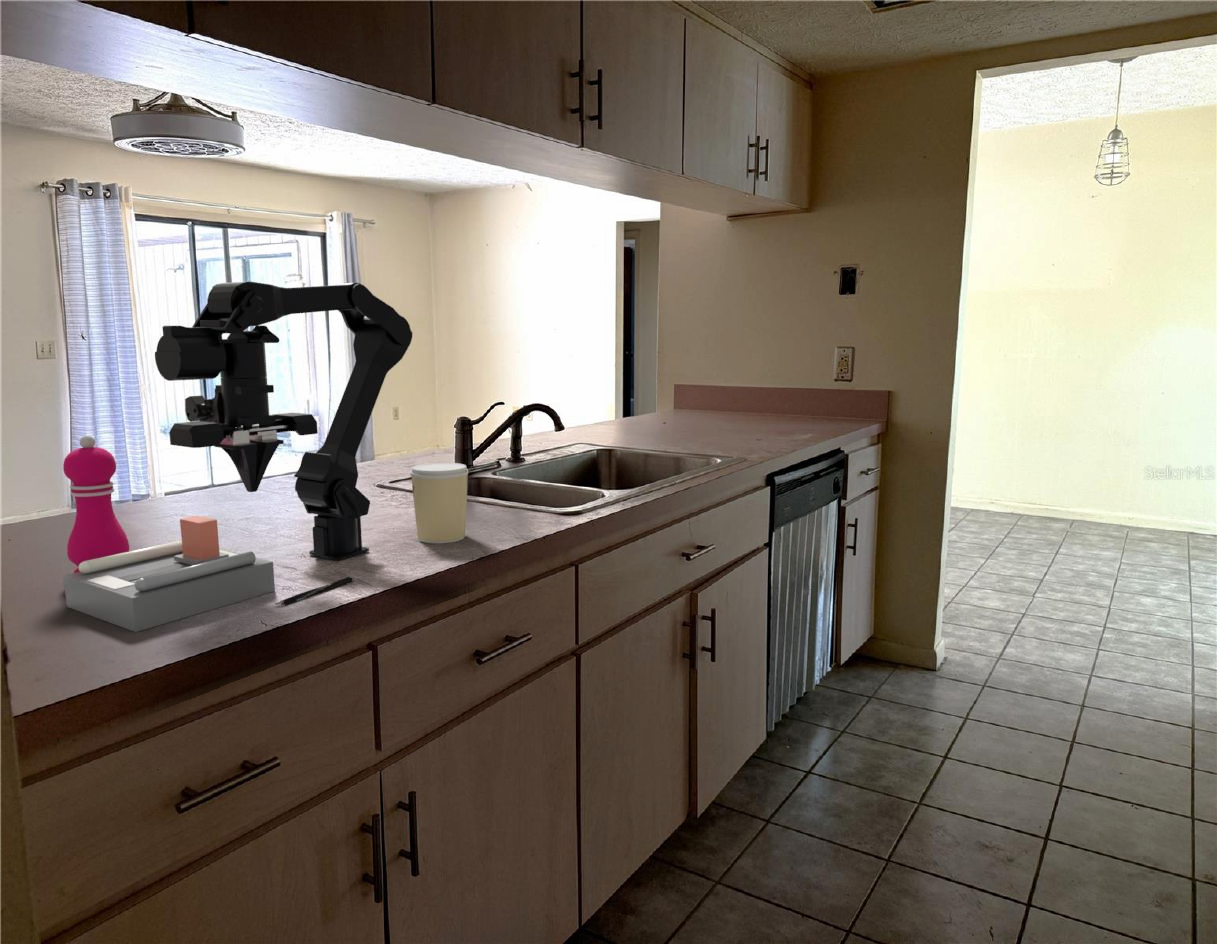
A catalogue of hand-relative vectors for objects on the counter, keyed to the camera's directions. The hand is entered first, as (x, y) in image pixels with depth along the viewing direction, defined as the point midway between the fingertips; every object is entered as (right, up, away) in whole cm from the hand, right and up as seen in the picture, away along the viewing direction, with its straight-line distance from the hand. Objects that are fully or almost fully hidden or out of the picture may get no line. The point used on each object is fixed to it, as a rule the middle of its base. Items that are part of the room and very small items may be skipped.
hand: (252, 491), depth 112 cm
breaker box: (-6, -14, -8) cm, 17 cm away
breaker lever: (-4, -9, -5) cm, 11 cm away
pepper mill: (-20, -12, 0) cm, 24 cm away
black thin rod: (+11, -14, -6) cm, 18 cm away
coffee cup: (+21, -8, +24) cm, 33 cm away
